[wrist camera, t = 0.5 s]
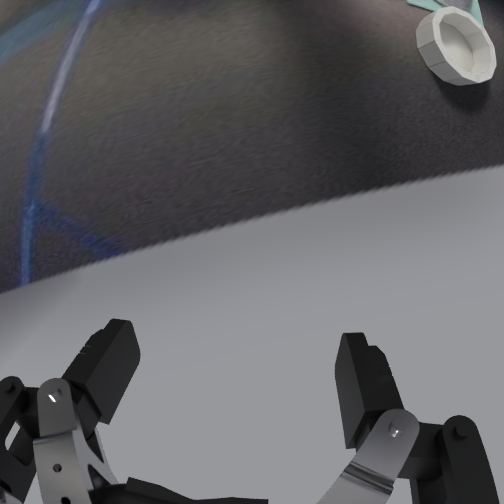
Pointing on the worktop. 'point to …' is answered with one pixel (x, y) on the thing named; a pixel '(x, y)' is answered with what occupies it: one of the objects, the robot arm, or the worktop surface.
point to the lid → (455, 3)
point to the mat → (428, 3)
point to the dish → (456, 47)
